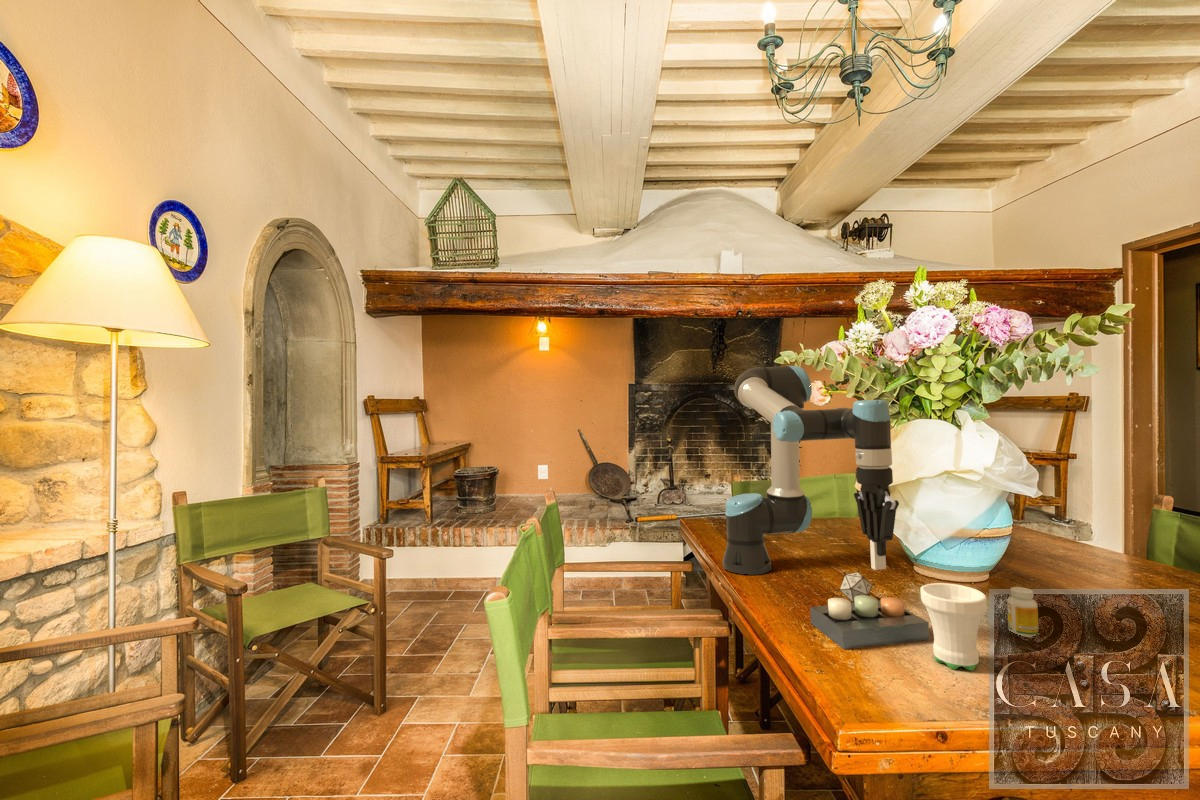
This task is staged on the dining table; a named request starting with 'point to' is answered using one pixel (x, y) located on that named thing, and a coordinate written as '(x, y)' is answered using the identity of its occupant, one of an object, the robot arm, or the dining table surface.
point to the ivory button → (839, 608)
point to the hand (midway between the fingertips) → (878, 568)
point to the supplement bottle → (1022, 612)
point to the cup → (954, 622)
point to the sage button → (866, 606)
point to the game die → (855, 585)
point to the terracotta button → (892, 607)
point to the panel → (870, 628)
